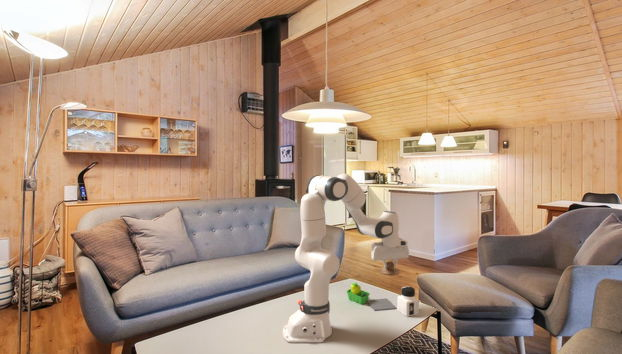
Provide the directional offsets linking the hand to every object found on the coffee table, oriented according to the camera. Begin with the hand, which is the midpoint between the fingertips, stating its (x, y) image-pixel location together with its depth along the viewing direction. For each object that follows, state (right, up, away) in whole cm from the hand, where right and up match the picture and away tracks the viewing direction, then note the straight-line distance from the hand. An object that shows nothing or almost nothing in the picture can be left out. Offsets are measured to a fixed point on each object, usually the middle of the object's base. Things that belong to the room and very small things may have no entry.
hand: (389, 267), depth 174 cm
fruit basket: (-16, -21, +8) cm, 28 cm away
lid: (0, -3, 0) cm, 3 cm away
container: (+8, -22, -5) cm, 24 cm away
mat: (-4, -21, +4) cm, 22 cm away
